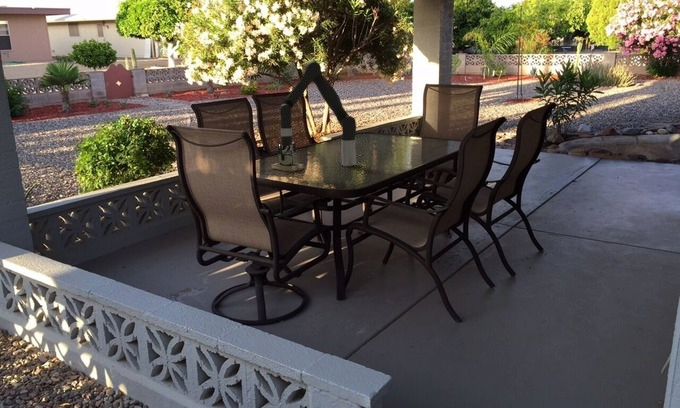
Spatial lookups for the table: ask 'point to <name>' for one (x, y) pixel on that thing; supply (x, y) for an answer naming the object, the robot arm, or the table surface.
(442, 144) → the table surface
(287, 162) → the food container
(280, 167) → the tray
